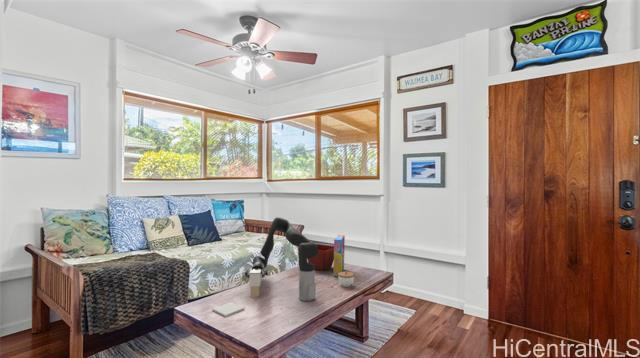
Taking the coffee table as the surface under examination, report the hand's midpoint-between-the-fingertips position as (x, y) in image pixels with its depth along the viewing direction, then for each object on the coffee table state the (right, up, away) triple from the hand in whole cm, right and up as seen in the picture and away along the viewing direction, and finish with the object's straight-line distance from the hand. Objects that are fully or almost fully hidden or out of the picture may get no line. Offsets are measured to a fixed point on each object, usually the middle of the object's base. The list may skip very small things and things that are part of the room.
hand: (255, 276), depth 190 cm
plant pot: (+40, -12, +58) cm, 72 cm away
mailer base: (0, -11, -2) cm, 11 cm away
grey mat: (-10, -11, -24) cm, 28 cm away
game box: (+54, -12, +47) cm, 73 cm away
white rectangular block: (0, -5, -2) cm, 5 cm away
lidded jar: (+57, -12, +19) cm, 62 cm away
